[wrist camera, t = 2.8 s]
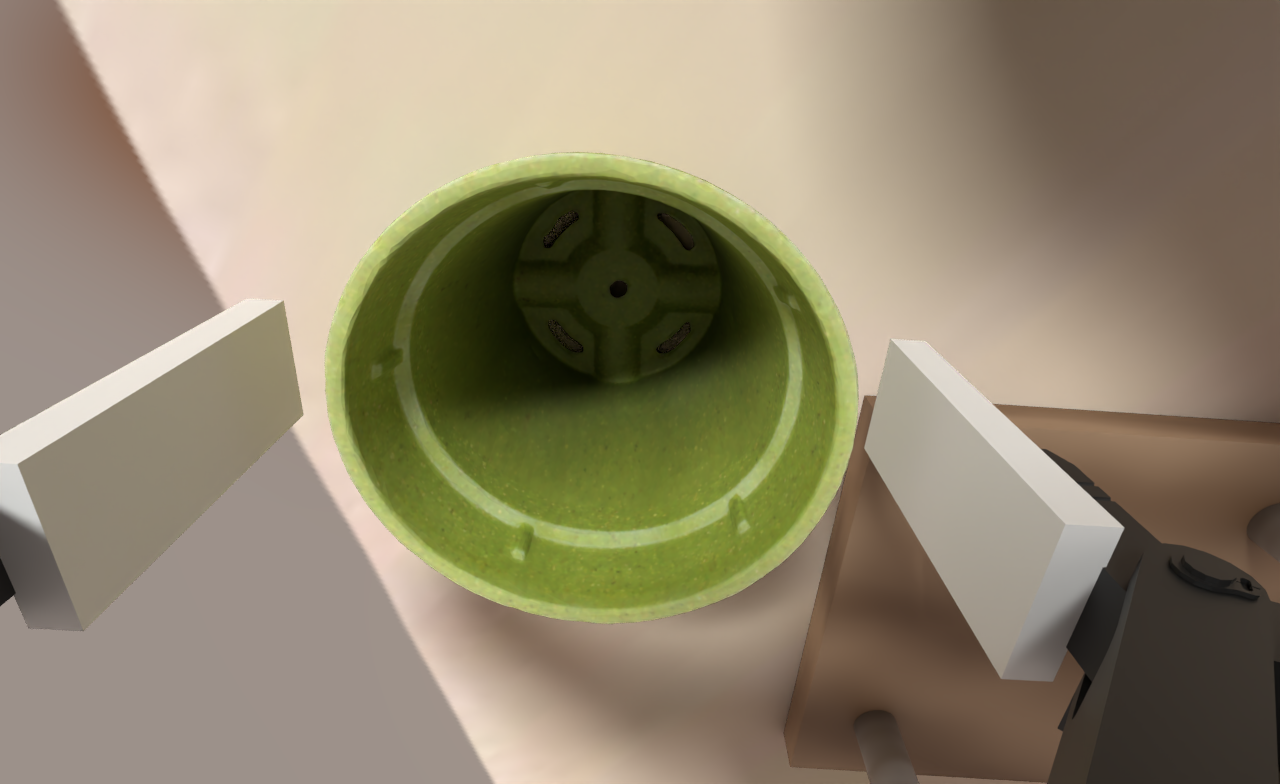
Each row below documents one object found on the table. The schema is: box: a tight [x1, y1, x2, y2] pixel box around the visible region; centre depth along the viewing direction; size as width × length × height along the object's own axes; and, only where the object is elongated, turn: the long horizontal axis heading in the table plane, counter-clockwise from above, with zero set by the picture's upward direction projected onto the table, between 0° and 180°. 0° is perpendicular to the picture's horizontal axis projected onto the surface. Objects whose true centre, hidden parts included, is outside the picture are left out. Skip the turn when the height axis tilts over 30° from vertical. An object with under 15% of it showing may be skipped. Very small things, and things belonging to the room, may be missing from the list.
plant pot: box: [325, 152, 859, 624], centre depth 16 cm, size 9×9×9 cm
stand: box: [784, 396, 1280, 784], centre depth 22 cm, size 16×16×6 cm
